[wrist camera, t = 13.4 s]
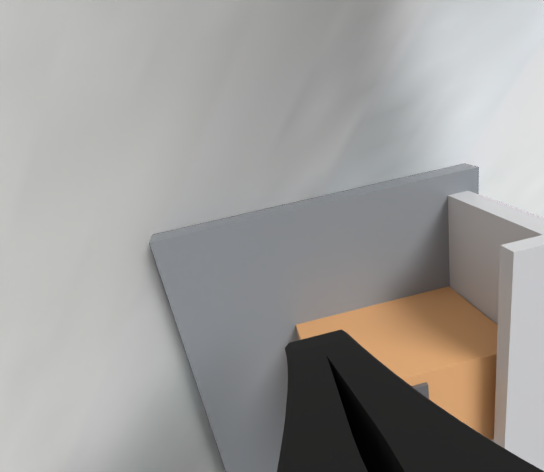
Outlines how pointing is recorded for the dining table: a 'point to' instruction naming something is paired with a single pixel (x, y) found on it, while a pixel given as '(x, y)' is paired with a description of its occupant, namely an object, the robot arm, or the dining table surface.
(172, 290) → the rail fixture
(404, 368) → the block
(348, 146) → the dining table surface
